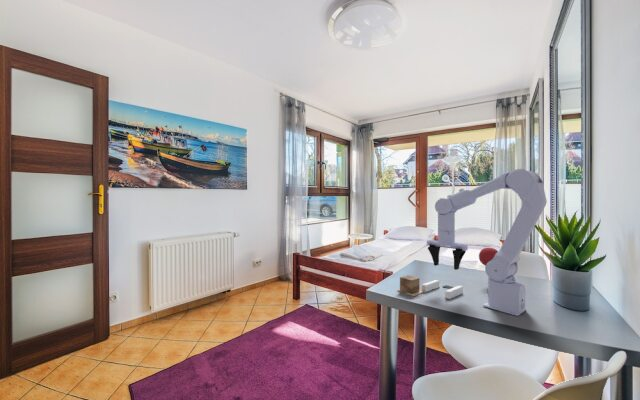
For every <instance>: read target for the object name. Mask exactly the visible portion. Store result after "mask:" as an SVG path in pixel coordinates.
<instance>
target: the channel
mask: <svg viewBox="0 0 640 400" xmlns="http://www.w3.org/2000/svg"><path fill="white" fill-rule="evenodd" d="M453 287H454V288H451V289H447V290H445V292H444V295H445V296H444V299H448V300H451V299H453V298H456V297H458V296H459V295H462V294H464V287H463V286H462V285H456V286H453ZM438 288H440V280H439V279H435V280H431V281H428V282H425V283H422V284H421V290H422V291H424V293H427V292H429V291H430V292H431V291H433V290H435V289H438ZM432 289H433V290H432Z"/></svg>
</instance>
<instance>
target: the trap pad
mask: <svg viewBox="0 0 640 400" xmlns="http://www.w3.org/2000/svg"><path fill="white" fill-rule="evenodd" d="M454 287H455V286H451V285H446V284H445V285H443V286H442V288H444V289H447V290H449V289H451V288H454Z"/></svg>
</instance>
